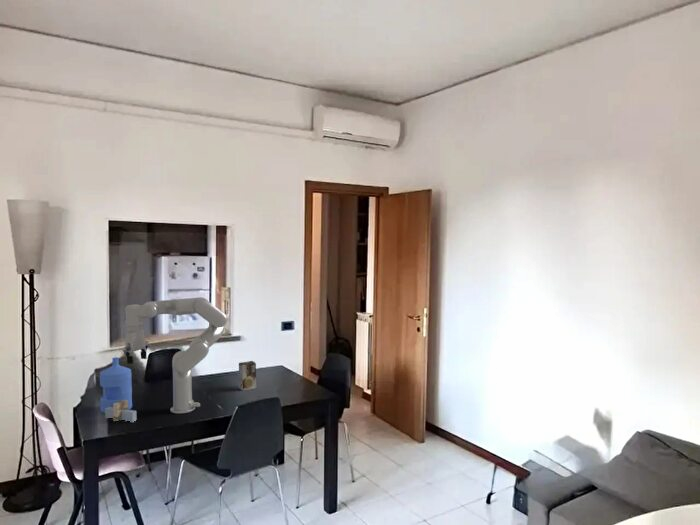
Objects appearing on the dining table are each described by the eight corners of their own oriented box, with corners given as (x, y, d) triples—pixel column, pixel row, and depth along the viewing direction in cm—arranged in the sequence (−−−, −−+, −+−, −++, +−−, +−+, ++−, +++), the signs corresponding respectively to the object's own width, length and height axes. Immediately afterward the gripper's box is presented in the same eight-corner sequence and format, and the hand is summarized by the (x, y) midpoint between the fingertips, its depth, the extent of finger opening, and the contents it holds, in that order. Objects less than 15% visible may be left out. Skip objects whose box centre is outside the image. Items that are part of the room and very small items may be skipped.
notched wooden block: (124, 416, 262) (123, 399, 262) (128, 417, 261) (127, 400, 261) (113, 421, 256) (113, 403, 255) (117, 421, 255) (117, 404, 254)
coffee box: (252, 386, 317) (252, 360, 316) (256, 388, 311) (256, 362, 311) (238, 388, 312) (238, 362, 311) (242, 391, 306) (242, 364, 306)
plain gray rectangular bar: (136, 420, 256) (136, 410, 256) (132, 422, 254) (132, 412, 254) (109, 416, 263) (109, 406, 262) (105, 418, 260) (104, 408, 260)
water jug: (120, 403, 284) (119, 353, 283) (138, 407, 276) (137, 356, 275) (94, 411, 271) (92, 359, 270) (112, 416, 263) (111, 362, 262)
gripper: (141, 325, 271) (143, 356, 272) (116, 331, 255) (118, 365, 256) (152, 325, 269) (154, 357, 270) (128, 332, 253) (130, 365, 254)
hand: (137, 361), depth 263 cm, fingers open, 9 cm apart
